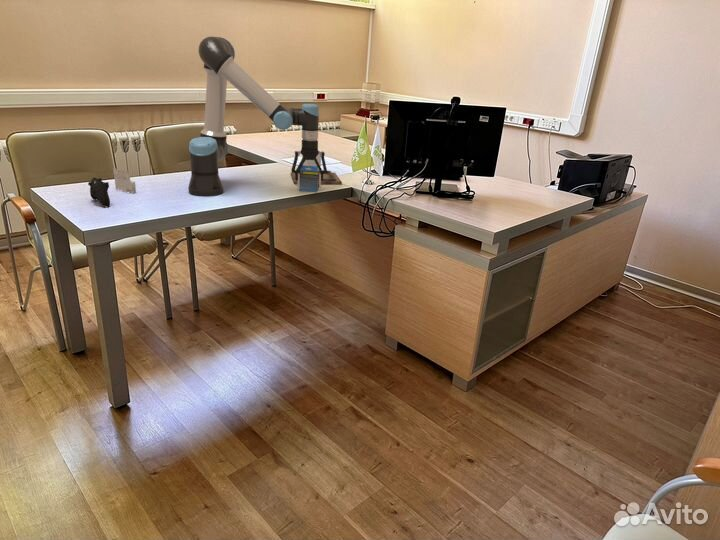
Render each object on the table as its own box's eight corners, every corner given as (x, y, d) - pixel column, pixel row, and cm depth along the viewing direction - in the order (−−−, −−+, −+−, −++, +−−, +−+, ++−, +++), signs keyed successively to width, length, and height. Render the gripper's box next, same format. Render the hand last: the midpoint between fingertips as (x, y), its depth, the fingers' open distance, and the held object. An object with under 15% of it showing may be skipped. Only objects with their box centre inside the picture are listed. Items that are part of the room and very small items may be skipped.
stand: (294, 184, 251) (294, 179, 250) (290, 174, 269) (290, 169, 268) (341, 184, 256) (341, 179, 255) (334, 175, 275) (335, 170, 274)
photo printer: (319, 171, 282) (320, 148, 277) (321, 172, 278) (321, 150, 273) (301, 171, 279) (301, 148, 275) (302, 172, 276) (302, 149, 271)
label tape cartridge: (318, 190, 243) (319, 164, 238) (317, 192, 240) (318, 166, 235) (300, 188, 244) (301, 163, 239) (298, 190, 240) (299, 165, 235)
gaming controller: (86, 200, 207) (82, 176, 203) (101, 198, 211) (98, 174, 207) (98, 208, 198) (95, 183, 194) (114, 206, 202) (111, 181, 198)
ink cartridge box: (120, 188, 226) (117, 166, 222) (136, 193, 221) (134, 170, 217) (115, 189, 224) (112, 167, 220) (131, 194, 219) (129, 171, 215)
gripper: (286, 140, 227) (286, 189, 235) (334, 141, 231) (333, 189, 240) (285, 137, 233) (285, 185, 242) (332, 138, 238) (330, 185, 247)
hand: (309, 187), depth 241 cm, fingers closed on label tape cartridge, 9 cm apart
